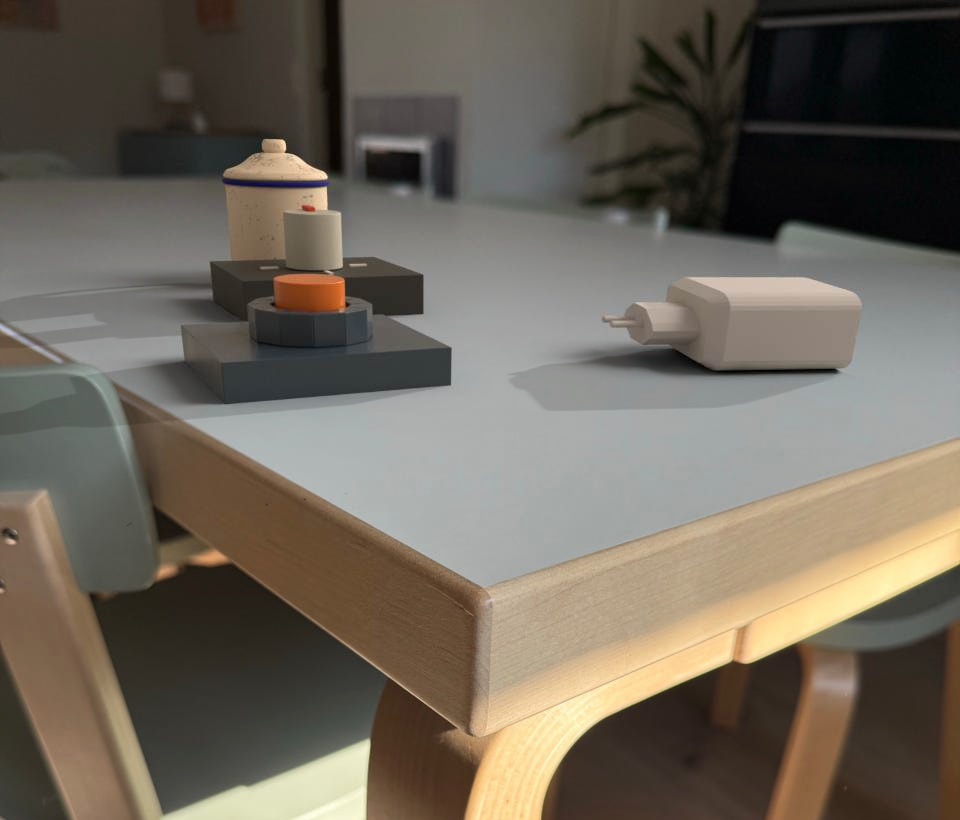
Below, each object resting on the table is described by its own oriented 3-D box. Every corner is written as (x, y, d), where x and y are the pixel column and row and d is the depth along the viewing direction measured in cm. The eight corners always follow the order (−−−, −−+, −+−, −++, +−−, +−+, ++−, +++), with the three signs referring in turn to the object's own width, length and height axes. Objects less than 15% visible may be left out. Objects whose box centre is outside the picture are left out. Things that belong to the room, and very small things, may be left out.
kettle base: (246, 324, 72) (242, 278, 70) (213, 300, 80) (209, 259, 79) (423, 314, 77) (423, 272, 76) (375, 293, 86) (374, 254, 84)
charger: (583, 346, 68) (784, 343, 71) (625, 377, 60) (850, 373, 63) (588, 273, 66) (796, 274, 68) (633, 296, 58) (865, 295, 60)
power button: (286, 318, 54) (284, 285, 54) (267, 306, 58) (265, 274, 57) (355, 314, 56) (354, 282, 55) (333, 303, 59) (331, 272, 58)
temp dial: (349, 270, 76) (347, 209, 74) (292, 271, 75) (289, 209, 73) (334, 262, 80) (332, 205, 78) (280, 263, 78) (277, 204, 76)
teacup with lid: (339, 291, 86) (334, 142, 81) (233, 292, 84) (220, 139, 78) (322, 272, 96) (316, 138, 91) (227, 272, 94) (215, 136, 89)
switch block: (225, 405, 52) (217, 326, 50) (184, 361, 60) (176, 293, 58) (451, 386, 57) (452, 314, 55) (383, 348, 65) (382, 285, 63)
